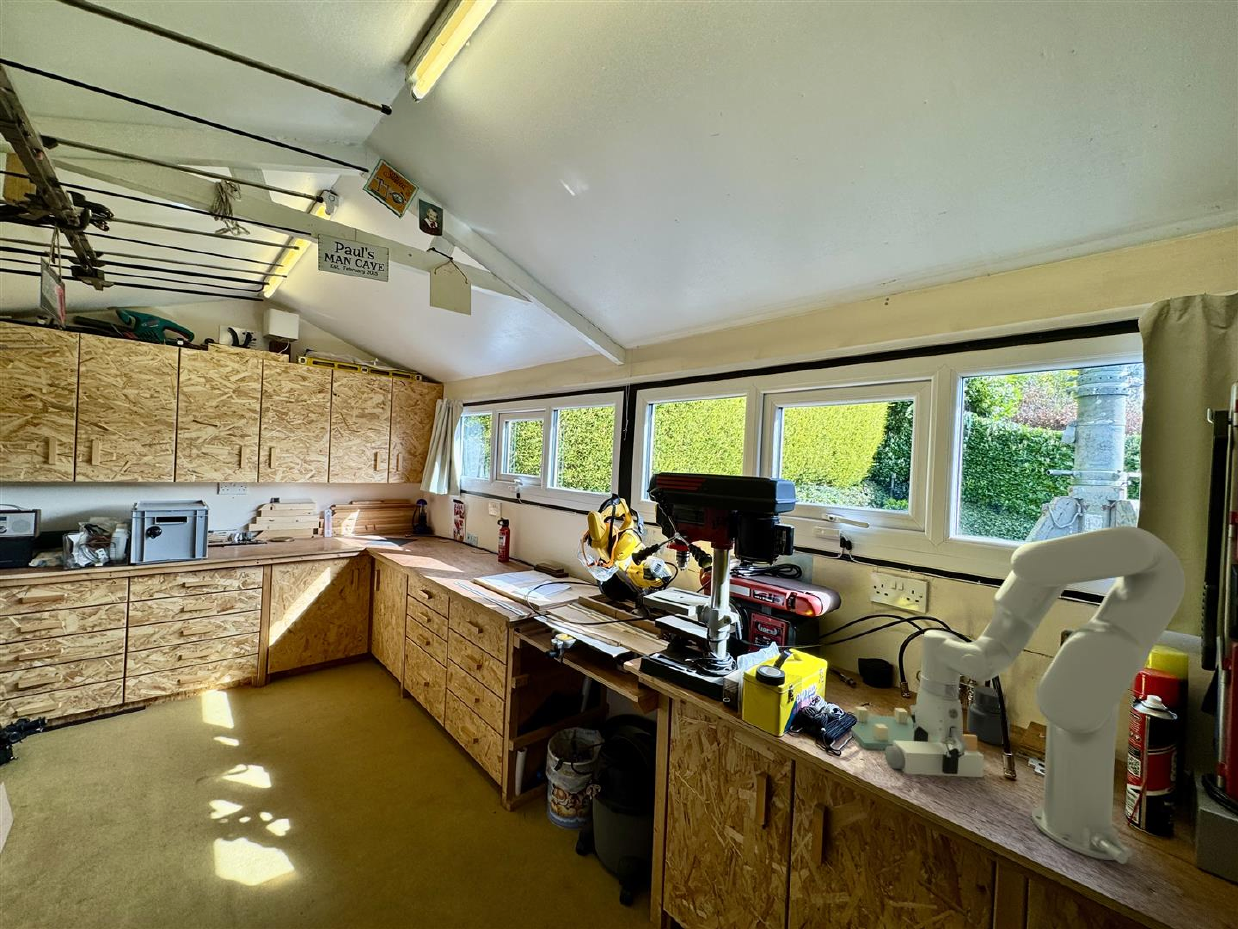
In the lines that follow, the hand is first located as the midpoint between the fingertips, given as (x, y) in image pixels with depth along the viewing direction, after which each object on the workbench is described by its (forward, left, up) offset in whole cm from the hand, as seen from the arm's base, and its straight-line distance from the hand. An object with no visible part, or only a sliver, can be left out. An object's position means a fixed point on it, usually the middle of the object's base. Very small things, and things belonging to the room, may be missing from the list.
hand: (934, 759), depth 112 cm
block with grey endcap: (0, 0, -2) cm, 2 cm away
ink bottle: (+15, -25, -2) cm, 29 cm away
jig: (+14, +2, -2) cm, 14 cm away
